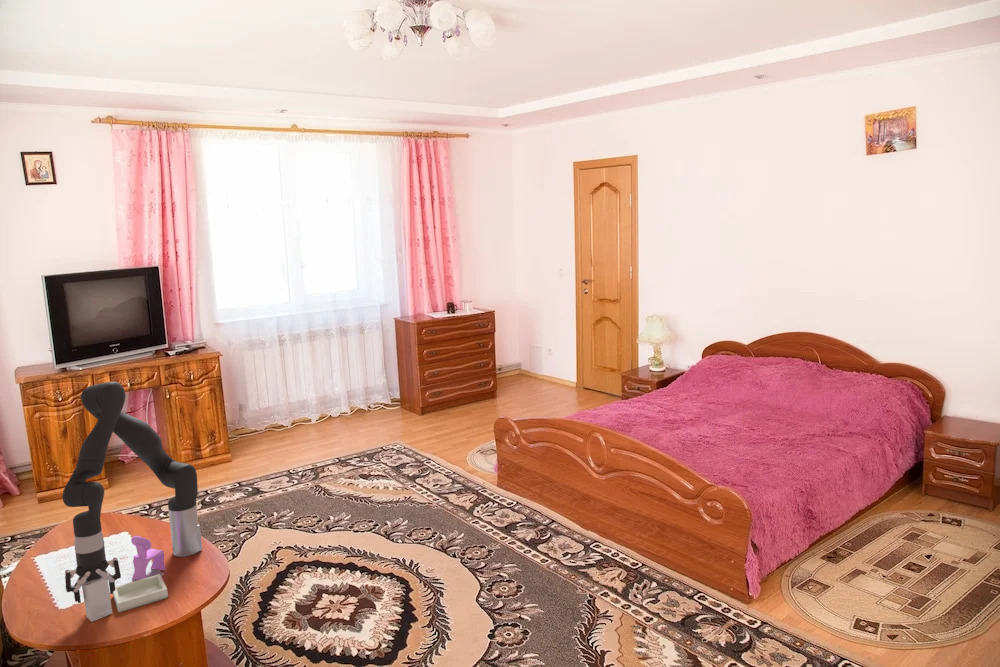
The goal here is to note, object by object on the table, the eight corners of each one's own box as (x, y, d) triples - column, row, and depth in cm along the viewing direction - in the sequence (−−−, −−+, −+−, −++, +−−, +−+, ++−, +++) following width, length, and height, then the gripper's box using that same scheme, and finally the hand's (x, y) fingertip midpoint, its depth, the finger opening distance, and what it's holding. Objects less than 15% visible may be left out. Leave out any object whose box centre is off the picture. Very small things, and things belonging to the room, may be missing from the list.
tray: (160, 582, 231) (159, 573, 231) (168, 597, 221) (167, 588, 221) (113, 596, 223) (112, 587, 223) (118, 612, 213) (117, 603, 213)
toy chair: (169, 569, 240) (164, 528, 237) (148, 582, 231) (144, 540, 229) (150, 566, 242) (145, 525, 240) (129, 578, 234) (124, 536, 232)
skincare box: (107, 609, 216) (102, 572, 214) (113, 614, 213) (108, 577, 211) (85, 618, 211) (80, 580, 209) (91, 623, 208) (86, 585, 206)
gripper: (115, 536, 215) (120, 585, 218) (60, 548, 207) (67, 599, 210) (118, 544, 209) (123, 595, 212) (62, 558, 201) (69, 610, 204)
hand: (95, 597), depth 211 cm, fingers open, 8 cm apart
